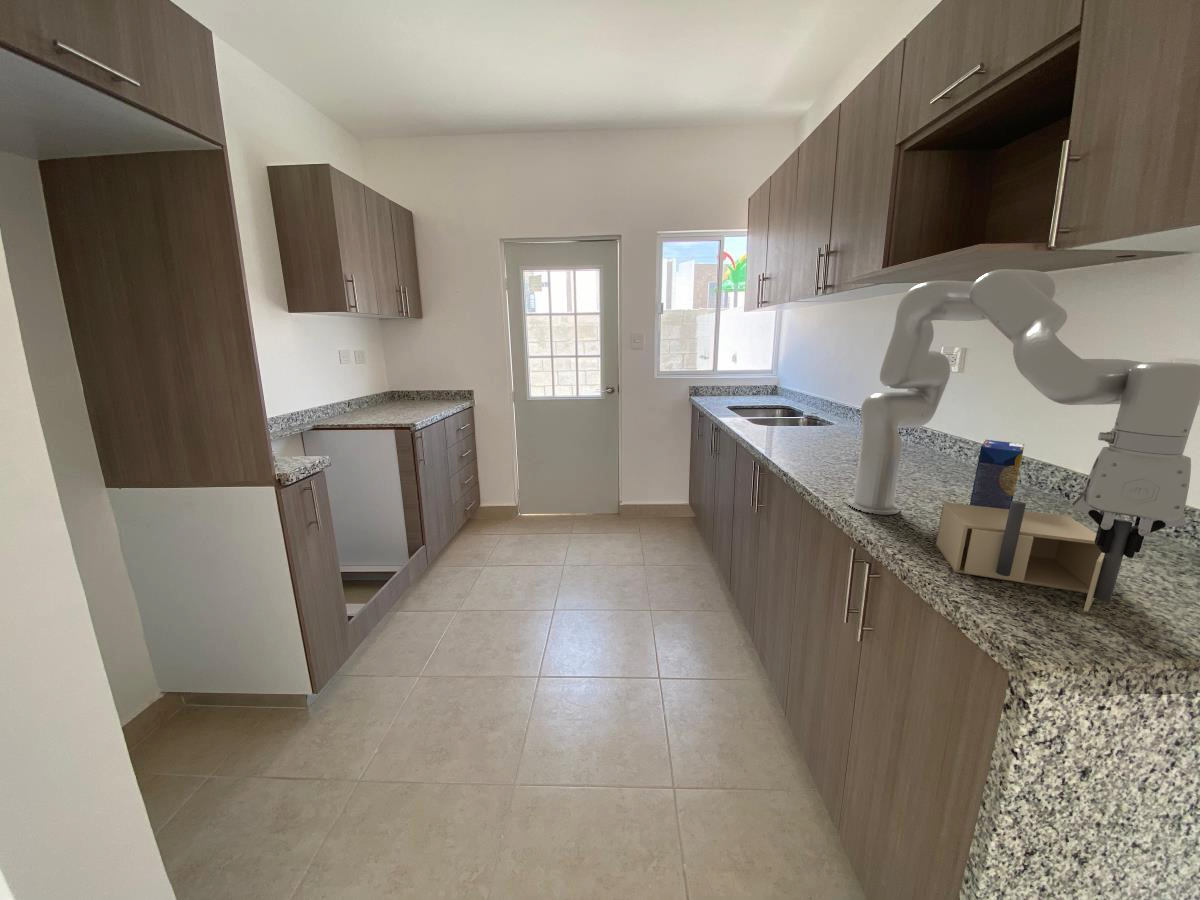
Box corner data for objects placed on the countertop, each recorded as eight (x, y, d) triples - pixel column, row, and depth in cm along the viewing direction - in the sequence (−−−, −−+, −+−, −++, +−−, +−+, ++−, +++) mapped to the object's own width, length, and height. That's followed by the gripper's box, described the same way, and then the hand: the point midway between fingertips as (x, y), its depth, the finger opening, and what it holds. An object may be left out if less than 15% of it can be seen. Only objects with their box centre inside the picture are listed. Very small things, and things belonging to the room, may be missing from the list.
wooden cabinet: (935, 544, 103) (943, 502, 101) (1056, 561, 95) (1067, 515, 93) (955, 572, 90) (964, 524, 88) (1096, 594, 83) (1110, 542, 80)
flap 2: (1083, 610, 77) (1107, 523, 73) (1092, 593, 82) (1114, 511, 78) (1104, 617, 75) (1130, 528, 71) (1112, 599, 80) (1136, 515, 77)
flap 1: (963, 571, 89) (978, 496, 86) (1022, 580, 86) (1040, 502, 83) (967, 577, 87) (983, 500, 84) (1028, 587, 84) (1046, 507, 80)
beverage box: (1004, 534, 108) (1024, 443, 103) (1001, 549, 101) (1023, 451, 96) (968, 526, 113) (985, 439, 108) (962, 540, 105) (981, 446, 100)
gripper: (1079, 440, 73) (1052, 547, 77) (1241, 455, 64) (1199, 576, 68) (1069, 433, 79) (1044, 533, 83) (1216, 446, 69) (1179, 557, 74)
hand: (1114, 551), depth 75 cm, fingers closed on flap 2, 2 cm apart
